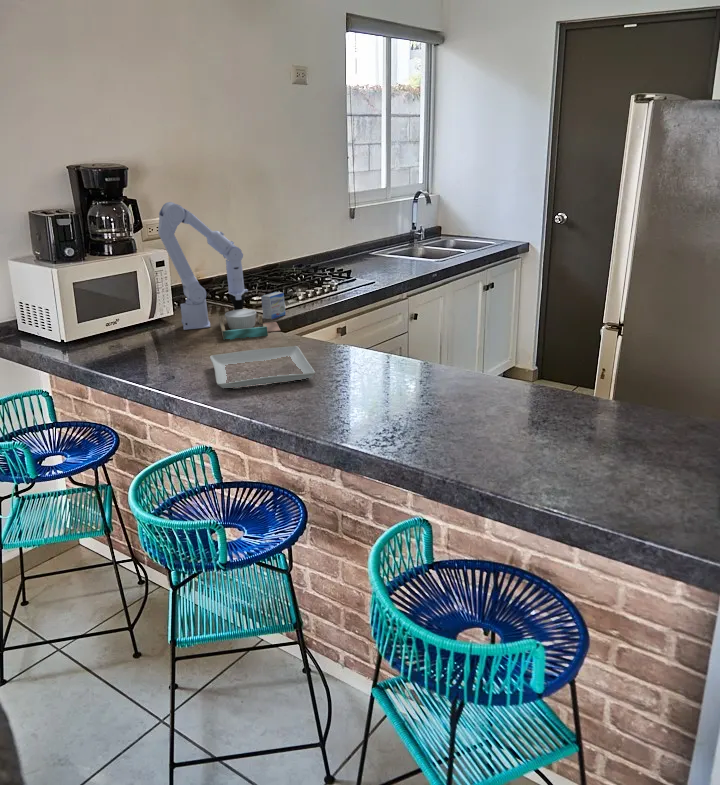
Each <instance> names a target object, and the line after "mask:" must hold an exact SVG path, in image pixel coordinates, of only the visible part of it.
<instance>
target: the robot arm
mask: <svg viewBox="0 0 720 785" xmlns="http://www.w3.org/2000/svg"><path fill="white" fill-rule="evenodd" d="M158 217H159V218H158V230H157V233H158V236H159V238H160V239H161V242H162V245H163V246H164V247H165V250H166V252H167V254H168V257H169V258H170V260H171V262H172V264H173V267H174V268H175V270H176V272H177V274H178V276H179V278H180V281H181V284H182V289H183V291H182V292H183V294H184V297H186V299H185V302H184V303H180V314H181V324H182V327H183V331H186V330H198V329H205V328H206V329H207V328H211V322H210V320H209V313H208V306H207V304H208V303H207V299H206V298H207V295H208V294H207V291H206V289H205V288H204V287H203V286H202V285H201V284H200V282H199V281H198V279H197V277H196V276H195V274H194V272H193V271H192V267H191V266H190V264H189V262H188V259H187V258H186V256H185V254H184V251H183V250H182V248H181V245H180V243H179V241H178V239H177V237H176V235H175V233H176V230H177V229H178V226H179V225H180V224H181V223H182V224H185V225H189V226H191V227H192V228H193V229H194V230H196V231H197V232H198V233H200V234H201V235H202V236H204V237H205V238H206V242H207V245H209V246H210V247H212V249H214V251H217V253H219V254H220V255H221V256H222V257H223V258H224V259H225V265H226V267H225V268H226V276H227V277H226V278H227V285H228V286H227V288H228V292H227V293H228V294H229V295H230V296H229V299H230V301H231V303H232V305H233V310H239V309H244V302H245V300H246V295H245V293H248V292H249V289H247V288H245V284H244V282H245V280H244V272H243V264H242V263H243V262H242V260H243V258H244V253H243V251H242V250H241V248H240V247H239V246H237V245H235V242H234V241H232V240H229V239H228V238H227V237H226V236H225V233H224V232H223V231H219V230H212V229H211V228H209V227H208V226H207V225H206V224H205V223H204V222H203V221H202V220H200V219H199V218H198V217H197V216H196V215H195V214H193V213H192V212H191V211H190V210H188V209H186V208H184V207H183V206H182V205H180V204H177V203H175V202H172V201H169V202H165V203H164V204H163V205H162V206H161V209H160V210H159V213H158Z"/></svg>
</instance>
